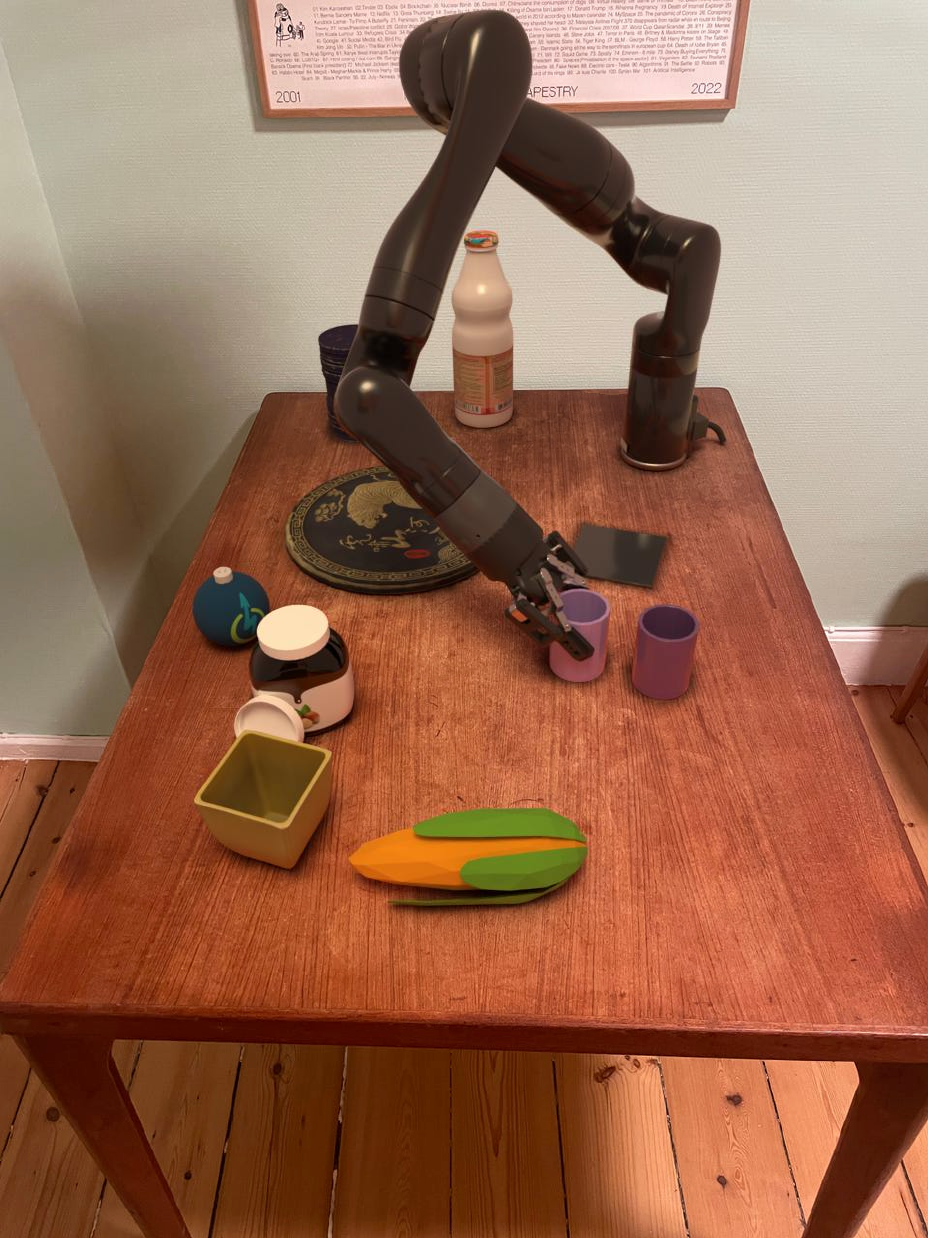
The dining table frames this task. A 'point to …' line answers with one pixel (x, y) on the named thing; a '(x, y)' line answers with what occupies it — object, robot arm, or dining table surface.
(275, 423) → the dining table surface
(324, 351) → the dark purple cylinder
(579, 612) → the lilac cup
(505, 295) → the fruit juice
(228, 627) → the christmas ornament
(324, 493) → the decorative plate
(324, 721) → the spread jar
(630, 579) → the coaster
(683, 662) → the plum cup
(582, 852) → the corn
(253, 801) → the flower pot
